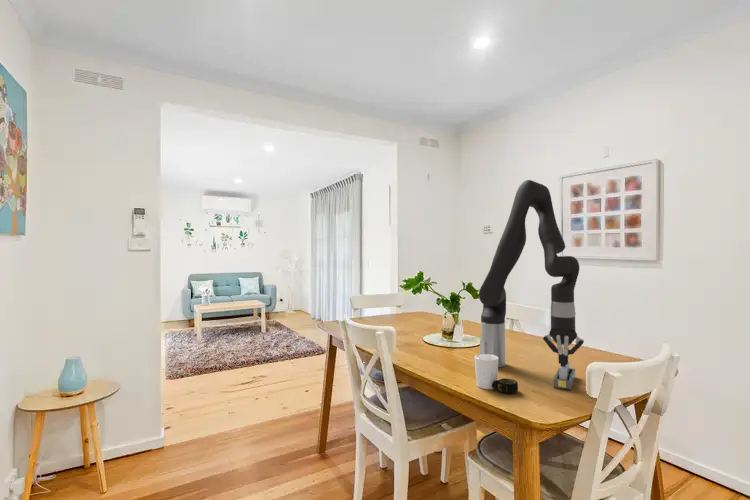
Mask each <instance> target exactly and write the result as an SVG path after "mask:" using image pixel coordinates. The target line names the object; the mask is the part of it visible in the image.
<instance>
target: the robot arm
mask: <svg viewBox="0 0 750 500" xmlns="http://www.w3.org/2000/svg"><path fill="white" fill-rule="evenodd" d="M530 208H533V209H534V211H535V212H536V214H537V216H538V220H539V222H538V229H537V231H538V232H537V233H538V237H539V240H540V243H541V246H542V248H543V254H544V268H545V269H544V270H545V271H546V273H547V274H548V275H549V276H550V277H552V278H553V277H554V278H561V281H560V282H558V283H555V284H553V285H552V286H551V289H550V295H551V297H550V300H551V301H550V331H549V332H548V334H547V335H544V336H543V338H542V339H543V341H544V342H545V343H546V345H547V346H548V347H549V349H550V350H551V351H552V352H553V353H556V354H557V357H558V364H559V365H560V364H561V366H566V365H567V364H568V362H569V355H574V354H575V353H576V352H577V351H578V350H579V349H580V348H581V347H582V345H583V344H584V342H585V340H584V339H583V338H580V337H579V336H578V334H577V332H576V306H575V288H576V285H577V280H578V276H579V273H580V263H579V261H578V259H577V258H575V257H574V256H572V255H564V256H563V255H562V256H561V255H560V256H559V255H558V254H560V253H563V251H564V250H565V249H566V242H565V241H564V239H563V236H562V234H561V231H560V228H559V226H558V223H557V220H556V214H555V211H554V206H553V200H552V196H551V192H550V189H549V188H548V187H547V186H546V185H544V184H542V183H539V182H536V181H535V180H531V179H527V180H524V181H523V182H522V183H520V184H519V187H518V188H517V190H516V193H515V196H514V199H513V203H512V206H511V211H510V213H509V216H508V218H507V222H506V224H505V228H504V229H503V233H502V234H501V237H500V239H499V242H498V244H497V248H496V250H495V253H494V256H493V259H492V262H491V265H490V268H489V271H488V273H487V275H486V277H485V279H484V280H483V283H482V285H481V286H480V288H479V291H478V298H479V300H480V303H481V304H483V305H482V307H483V308H482V311H481V314H480V315H481V316H480V323H481V324H480V331H481V332H480V333H481V339H479V354H491V355H495V356H497V357H498V368H503V367H506V321H505V320H506V315H507V293H506V292H507V291H506V289H505V285H506V282H507V279H508V277H509V275H510V273H511V272H512V270H513V269H514V267H515V266H516V264H517V262H518V261H519V259H520V257H521V255H522V254H523V251H524V248H525V246H526V242H527V230H526V220H527V219H526V217H527V215H528V212H529V209H530ZM552 340H553V341H554V343H555V344H556V345H555V344H554V343H553V341H552ZM574 342H575V344H574V346H572V348H571V349H570V345H572V343H574Z"/></svg>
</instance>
